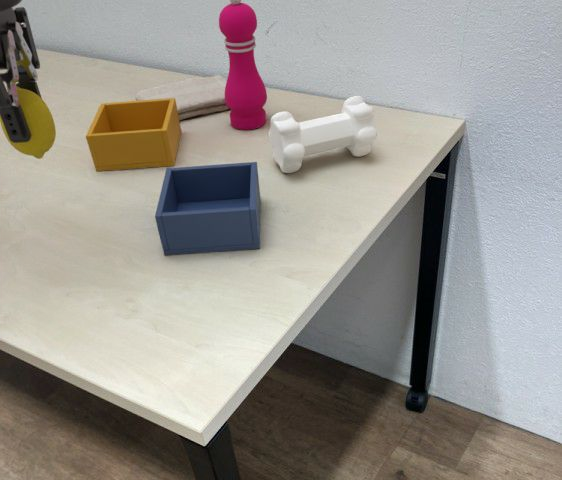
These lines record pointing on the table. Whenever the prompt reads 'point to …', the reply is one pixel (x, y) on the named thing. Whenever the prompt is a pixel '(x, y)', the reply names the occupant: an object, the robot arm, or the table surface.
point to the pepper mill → (242, 67)
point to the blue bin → (209, 209)
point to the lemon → (34, 125)
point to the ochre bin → (134, 134)
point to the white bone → (322, 134)
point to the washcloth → (191, 95)
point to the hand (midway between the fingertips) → (29, 128)
